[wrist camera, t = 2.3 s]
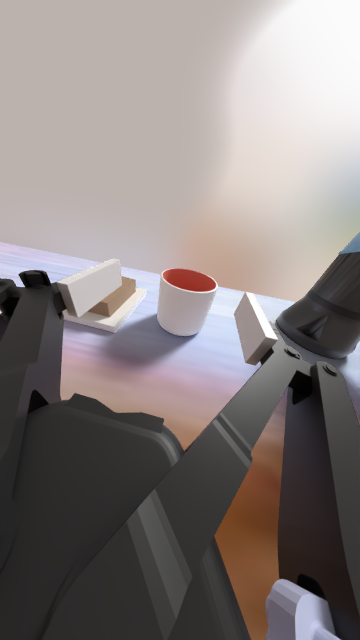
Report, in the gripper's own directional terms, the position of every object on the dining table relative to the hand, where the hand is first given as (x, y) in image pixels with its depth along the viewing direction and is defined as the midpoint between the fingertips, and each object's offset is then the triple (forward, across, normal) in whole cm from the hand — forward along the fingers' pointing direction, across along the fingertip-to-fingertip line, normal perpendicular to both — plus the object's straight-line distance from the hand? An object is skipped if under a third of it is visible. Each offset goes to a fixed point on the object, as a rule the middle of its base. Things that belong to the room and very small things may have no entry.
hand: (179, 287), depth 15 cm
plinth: (+10, -18, -13) cm, 24 cm away
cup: (+10, 0, -13) cm, 16 cm away
